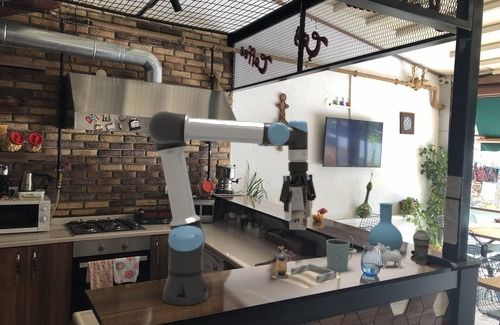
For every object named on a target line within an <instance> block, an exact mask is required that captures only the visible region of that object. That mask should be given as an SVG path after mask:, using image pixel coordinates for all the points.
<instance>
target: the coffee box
mask: <svg viewBox="0 0 500 325" xmlns="http://www.w3.org/2000/svg"><path fill="white" fill-rule="evenodd" d="M290 191H292V198H291V200H290V202H289V203H291V221H288V225H289V226H288V229H289V230H299V231H306V230H307V227H308V217H307V186H301V185H299V186H297V187H289V192H290Z"/></svg>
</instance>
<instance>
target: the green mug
mask: <svg viewBox="0 0 500 325" xmlns="http://www.w3.org/2000/svg"><path fill="white" fill-rule="evenodd" d="M325 243H326V269H330V270H333V271H336V273H343V272H344V273H345V272H347V271H348V265H349V256H350V246H351V242H350V241H348V240H345V239H340V238H331V239H327V240H326V242H325Z"/></svg>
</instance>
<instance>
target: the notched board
mask: <svg viewBox="0 0 500 325" xmlns="http://www.w3.org/2000/svg"><path fill="white" fill-rule="evenodd" d="M286 274H288V277H287V278H284V279H281V278H276V277H275V275H272V276H271V277H272V278H274V279H277V280H280V281H283V282H286V283H289V284H291V285H294V286H298V287H300V288H303V289H310V288H312V287H313V288H314V287H316V286H319V285H322V284H325V283H328V282H331V281H336V280H338V279H342V278H343V276H341V275H339V274H337V272H336V271H333V270H330V269H328V268H327V267H322V266H319V265H315V264H311V263H305V264H302V265H299V266H298V265H297V266H295V267H291V268H290V271H287V273H286Z"/></svg>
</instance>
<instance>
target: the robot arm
mask: <svg viewBox="0 0 500 325" xmlns="http://www.w3.org/2000/svg"><path fill="white" fill-rule="evenodd" d="M147 123H148V124H147V131H148V134H149V137H150V138H151V139H152V140H153V144H154V149H155V153H156V154H158V155H159V156H160V159H161V162H162V163H161V165H162V170H163V174H164V179H165V184H166V185H165V186H166V189H167V195H168V201H169V204H170V210H171V217H172V220H171V221H170V223H169V227H170V231H169V233H168V238H167V242H168V263H167V264H168V267H167V268H168V271H167V272H168V273H167V274H168V276H167V279H166V281H165V285H164V288H163V291H162V300H163V302H165V303H167V304H170V305H174V306H175V305H176V306H191V305H192V306H193V305H196V304H197V305H198V304H201V303H202V302H205V301H206V300H207V299H208V296H209V291H208V290H209V289H208V286H207V283H206V281H205V277H204V272H203V271H204V247H205V243H206V234H205V231H204V229H203V226H202V225H203V224H202V220H201V217H200V216H199V215H197V213H196V209H195V205H194V199H193V192H192V188H191V182H190V178H189V172H188V167H187V162H186V156H185V151H186V150H187V148H188V146H187V145H188V144H187V142H188V141H204V142H222V143H241V144H253V145H255V144H256V145H258V146H259V147H279V146H282V147H286V146H287V149H288V150H287V153H288V154H287V156H288V157H287V159H288V161H289V162H288V164H287V165H288V168H287V170H288V171H289V175H283V178H282V179H283V180H282V186H281V191H280V195H279V202H281V203H283V212H284V221H288V222H289V221H291V203H289V202H290V200H291V198H292V191H290V192H289V187H297V186H299V185H301V186H307V218H312V215H313V214H312V209H313V201H315V200H316V199H317V194H316V191H315V185H314V182H313V174H309V173H307V172H308V171H309V163H308V160H309V155H308V153H309V152H308V151H309V150H308V149H309V148H308V143H309V130H308V129H309V128H308V122H307V121H306V120H289V121H288V122H287V125H286V124H284V123H283V122H274V123H273V122H261V121H260V122H259V121H244V120H229V119H218V118H217V119H215V118H199V117H190V115H188V114H186V113H178V112H177V113H176V112H172V111H167V110H166V111H165V110H164V111H163V110H162V111H159V112H156V113H154V114H153V115H151V117H150V118H149V121H148V122H147Z"/></svg>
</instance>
